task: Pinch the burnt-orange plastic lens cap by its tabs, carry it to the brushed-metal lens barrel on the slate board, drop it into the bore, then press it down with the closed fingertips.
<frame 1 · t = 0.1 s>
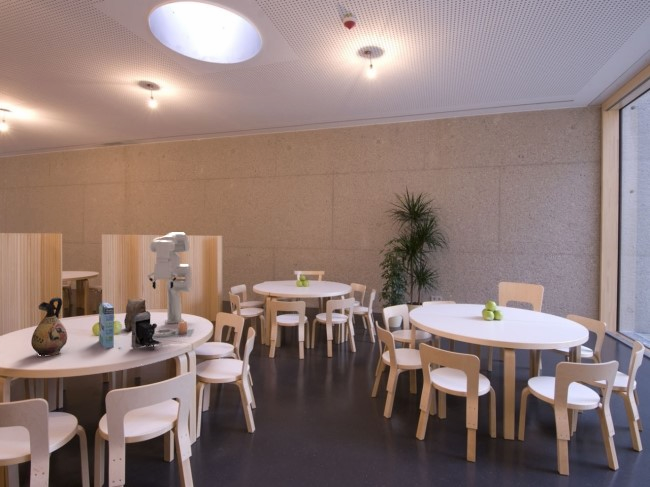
hand: (163, 288, 225), 31 cm above the table, fingers open, 9 cm apart
vintage camera: (147, 348, 206), on the table
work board: (172, 336, 231), on the table
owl: (132, 329, 247), on the table
ceramic jug: (51, 353, 197), on the table
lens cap: (182, 333, 233), point 1 cm above the table, touching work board
gum box: (106, 344, 214), on the table
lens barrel: (164, 334, 230), resting on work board
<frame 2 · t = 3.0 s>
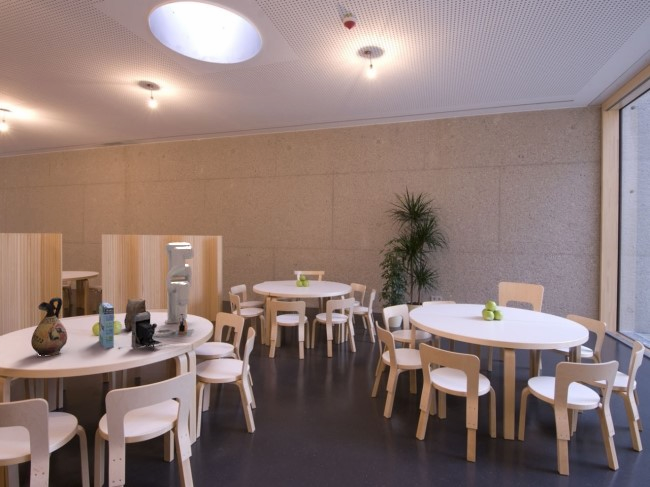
hand: (182, 329, 233), 4 cm above the table, fingers closed on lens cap, 6 cm apart
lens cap: (182, 333, 233), point 1 cm above the table, touching gripper, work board
everything else where it was.
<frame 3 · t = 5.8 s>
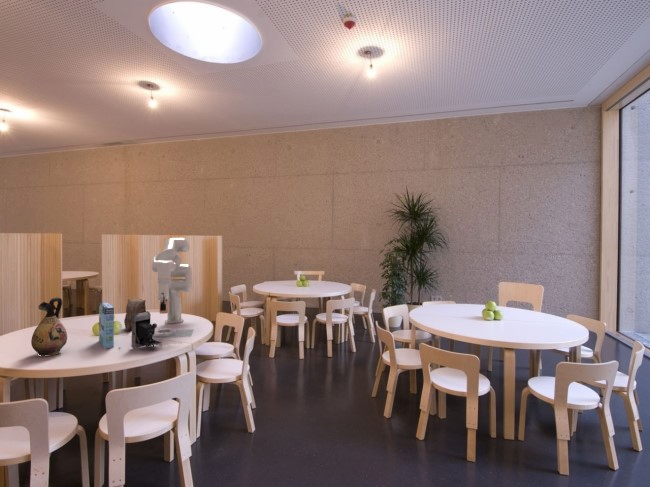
hand: (164, 309, 230), 17 cm above the table, fingers closed on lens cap, 6 cm apart
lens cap: (164, 312, 230), point 15 cm above the table, touching gripper
everything else where it was.
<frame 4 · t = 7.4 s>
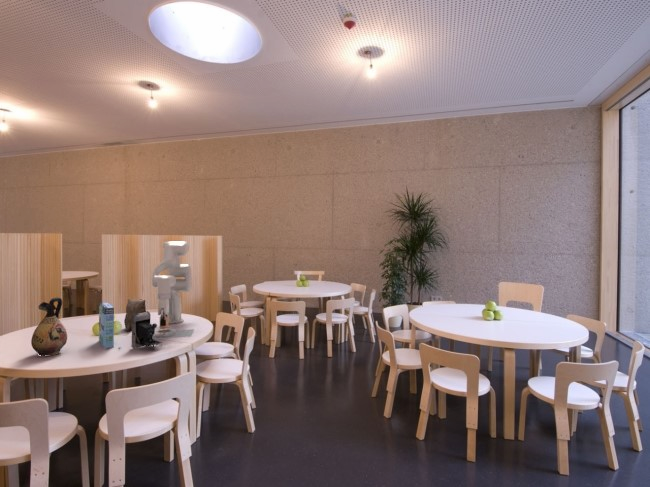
hand: (164, 324, 230), 8 cm above the table, fingers closed on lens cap, 6 cm apart
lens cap: (164, 327, 230), point 6 cm above the table, touching gripper
everything else where it was.
when the fingers open (5 cm above the table, at t = 8.5 s): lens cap drops 1 cm, resting on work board.
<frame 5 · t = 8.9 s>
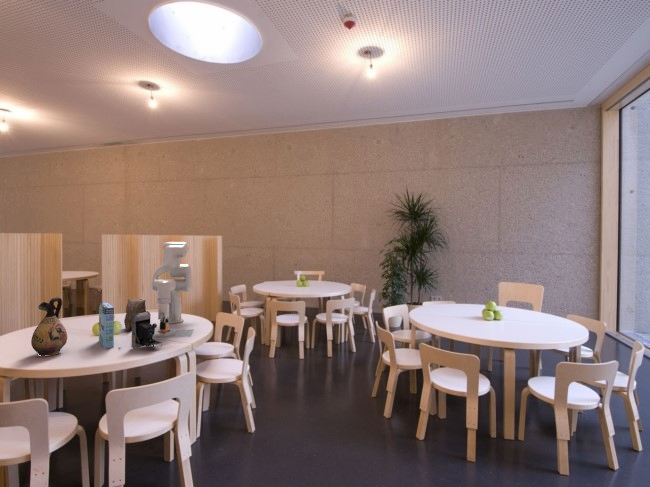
hand: (164, 327, 230), 6 cm above the table, fingers open, 9 cm apart
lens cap: (164, 334, 230), point 2 cm above the table, touching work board
everything else where it was.
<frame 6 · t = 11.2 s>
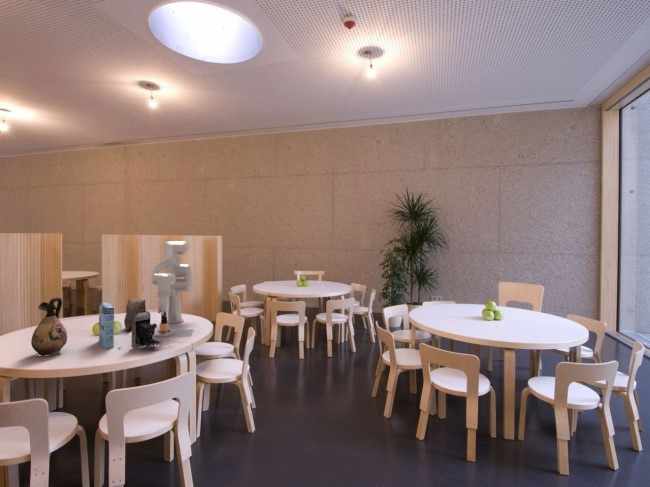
hand: (164, 323, 230), 9 cm above the table, fingers closed
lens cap: (164, 334, 230), point 2 cm above the table, touching gripper, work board
everything else where it was.
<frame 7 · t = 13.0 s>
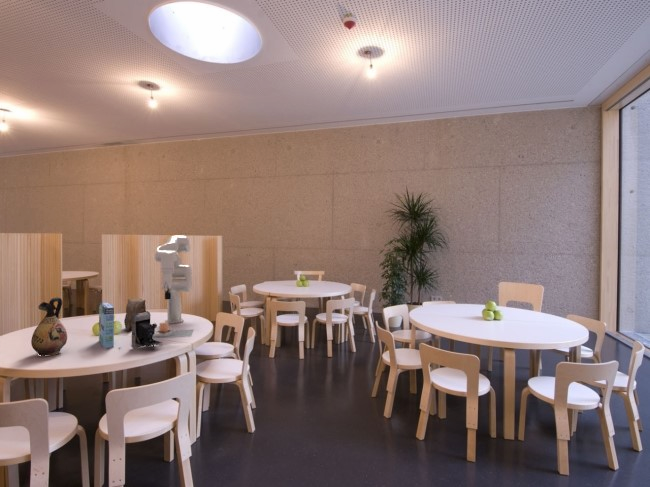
hand: (167, 299, 236), 23 cm above the table, fingers closed
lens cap: (164, 334, 230), point 1 cm above the table, touching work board
everything else where it was.
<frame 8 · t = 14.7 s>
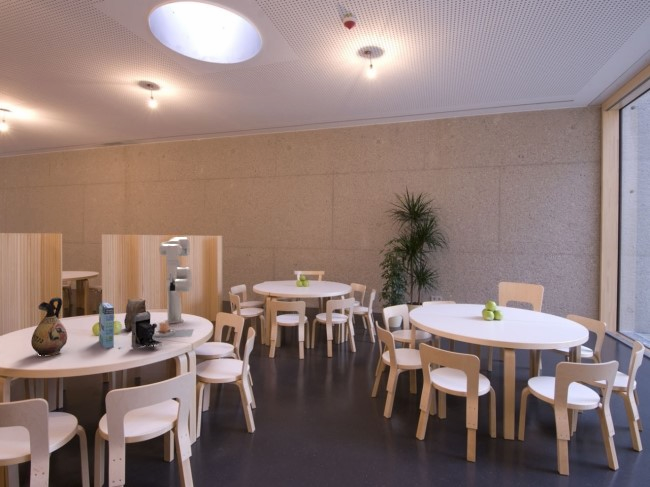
hand: (172, 290, 243), 27 cm above the table, fingers closed
nothing on the table moved.
at the end: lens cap 0.0 cm off-centre on the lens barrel, point 0.0 cm above the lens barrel's base; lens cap tilted 0°; the gripper is holding nothing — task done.
